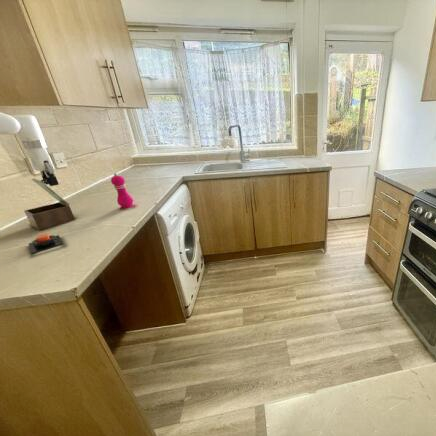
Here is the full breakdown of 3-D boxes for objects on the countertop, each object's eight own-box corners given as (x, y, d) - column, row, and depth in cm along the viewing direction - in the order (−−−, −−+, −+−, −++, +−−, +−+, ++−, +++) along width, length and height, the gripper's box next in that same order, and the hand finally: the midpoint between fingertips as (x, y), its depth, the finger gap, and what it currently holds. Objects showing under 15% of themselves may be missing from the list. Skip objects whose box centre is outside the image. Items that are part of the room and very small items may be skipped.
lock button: (51, 239, 94) (49, 235, 93) (38, 243, 92) (36, 239, 91) (49, 237, 96) (47, 233, 96) (37, 240, 94) (35, 236, 93)
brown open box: (39, 230, 110) (32, 215, 107) (31, 225, 116) (23, 210, 113) (75, 220, 121) (69, 205, 118) (66, 215, 126) (60, 201, 123)
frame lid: (40, 182, 108) (52, 174, 111) (31, 179, 113) (44, 172, 116) (68, 205, 117) (79, 197, 120) (59, 201, 123) (69, 194, 126)
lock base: (65, 248, 95) (61, 239, 94) (33, 258, 89) (28, 248, 87) (60, 239, 102) (56, 231, 100) (31, 248, 96) (26, 239, 94)
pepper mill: (121, 207, 136) (108, 172, 127) (136, 205, 138) (124, 170, 130) (119, 212, 130) (105, 175, 121) (134, 209, 132) (122, 173, 124)
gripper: (17, 144, 109) (35, 184, 116) (29, 146, 101) (48, 189, 108) (39, 143, 115) (55, 180, 122) (53, 144, 107) (69, 184, 114)
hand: (52, 184), depth 115 cm, fingers closed on frame lid, 5 cm apart
